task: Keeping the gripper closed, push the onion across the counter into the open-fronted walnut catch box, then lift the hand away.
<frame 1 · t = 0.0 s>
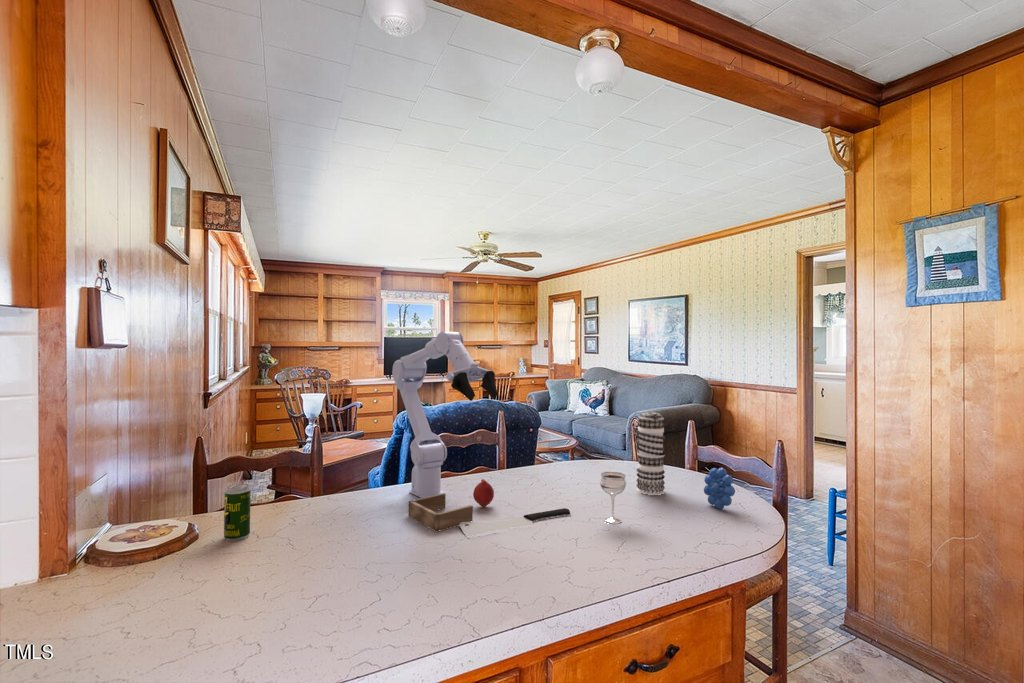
hand: (484, 397, 125), 32 cm above the breakfast bar, tool tilted 50°, fingers open, 7 cm apart
grapes: (721, 509, 135), on the breakfast bar
wineglass: (612, 521, 125), on the breakfast bar
kitchen cleaver: (520, 527, 122), on the breakfast bar
catch box: (440, 518, 125), on the breakfast bar
onion: (483, 507, 135), on the breakfast bar
green fruit can: (237, 538, 112), on the breakfast bar
striped tall cylinder: (650, 492, 151), on the breakfast bar
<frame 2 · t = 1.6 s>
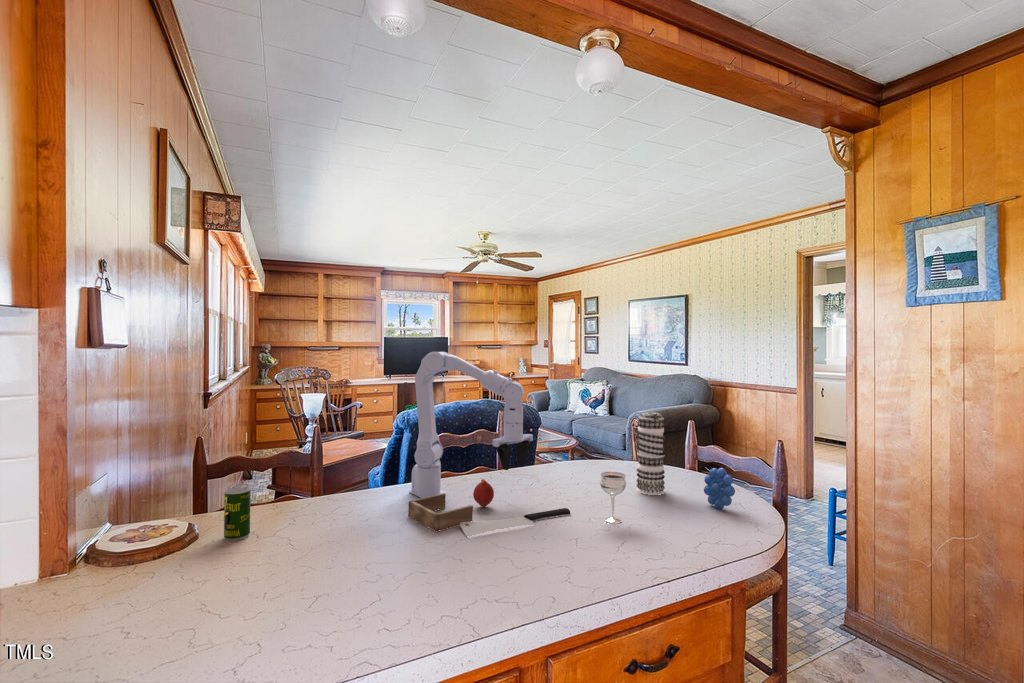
hand: (513, 467, 142), 9 cm above the breakfast bar, tool pointing down, fingers open, 5 cm apart
nothing on the breakfast bar moved.
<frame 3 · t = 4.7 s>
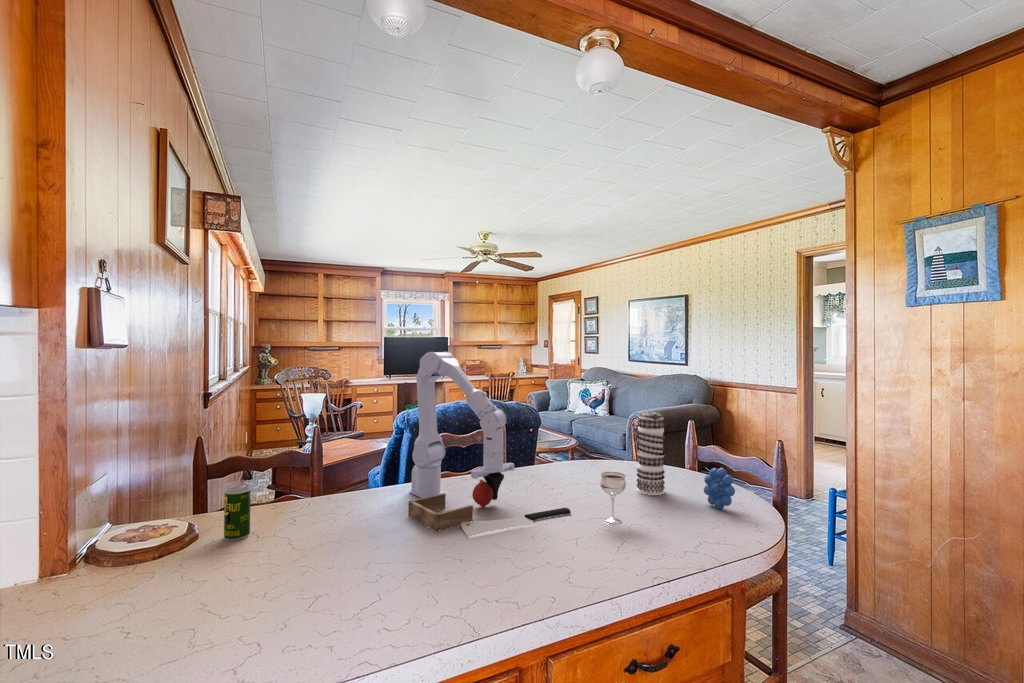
hand: (493, 499, 137), 2 cm above the breakfast bar, tool pointing down, fingers closed, pressing on onion
onion: (483, 507, 134), on the breakfast bar, touching gripper
everything else where it was.
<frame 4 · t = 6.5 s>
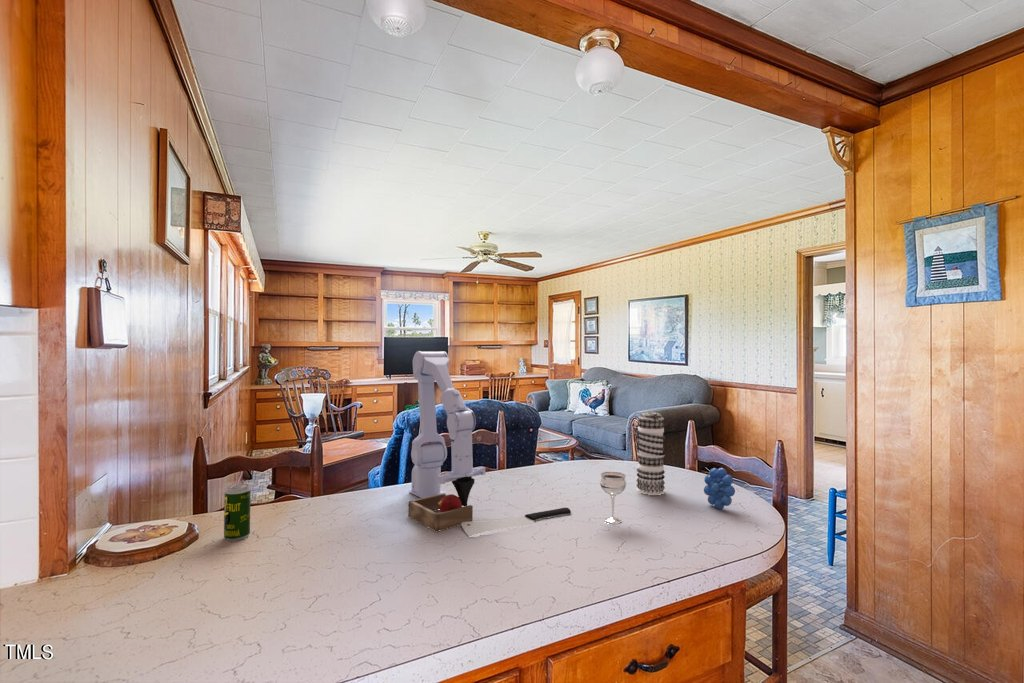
hand: (463, 505, 128), 2 cm above the breakfast bar, tool pointing down, fingers closed, pressing on onion
onion: (460, 508, 129), point 1 cm above the breakfast bar, touching gripper
everything else where it was.
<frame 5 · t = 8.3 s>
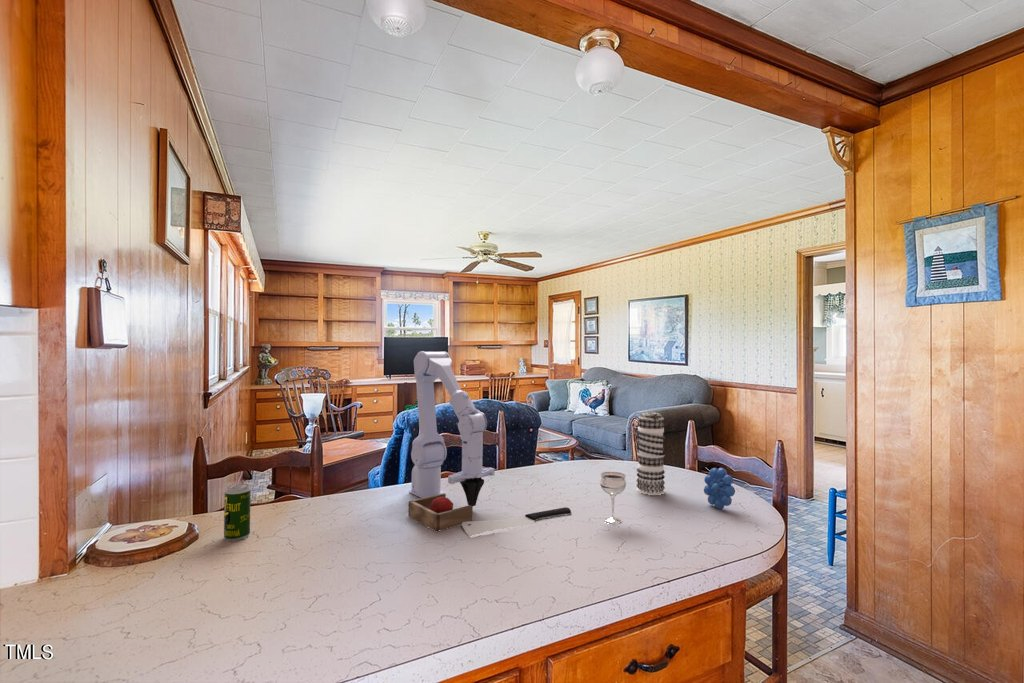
hand: (471, 505, 132), 1 cm above the breakfast bar, tool pointing down, fingers closed
onion: (453, 503, 127), point 3 cm above the breakfast bar
everything else where it was.
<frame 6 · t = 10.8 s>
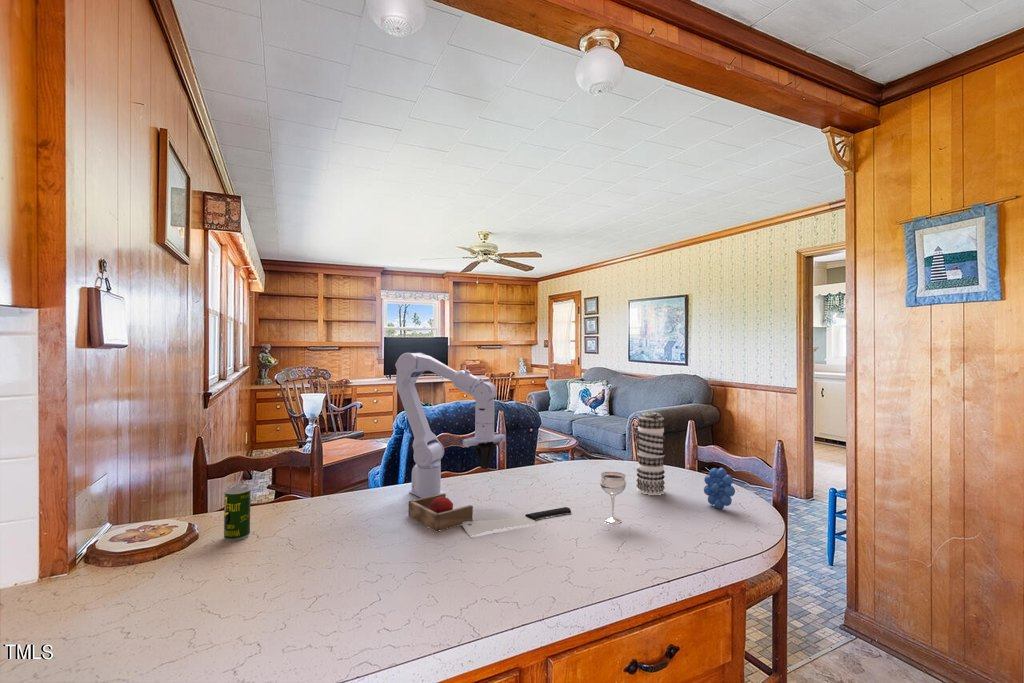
hand: (484, 468, 141), 9 cm above the breakfast bar, tool pointing down, fingers closed
nothing on the breakfast bar moved.
at the end: onion inside the target area (3.6 cm from its centre), point 3.4 cm above the breakfast bar; onion moved 11.2 cm from its start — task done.
